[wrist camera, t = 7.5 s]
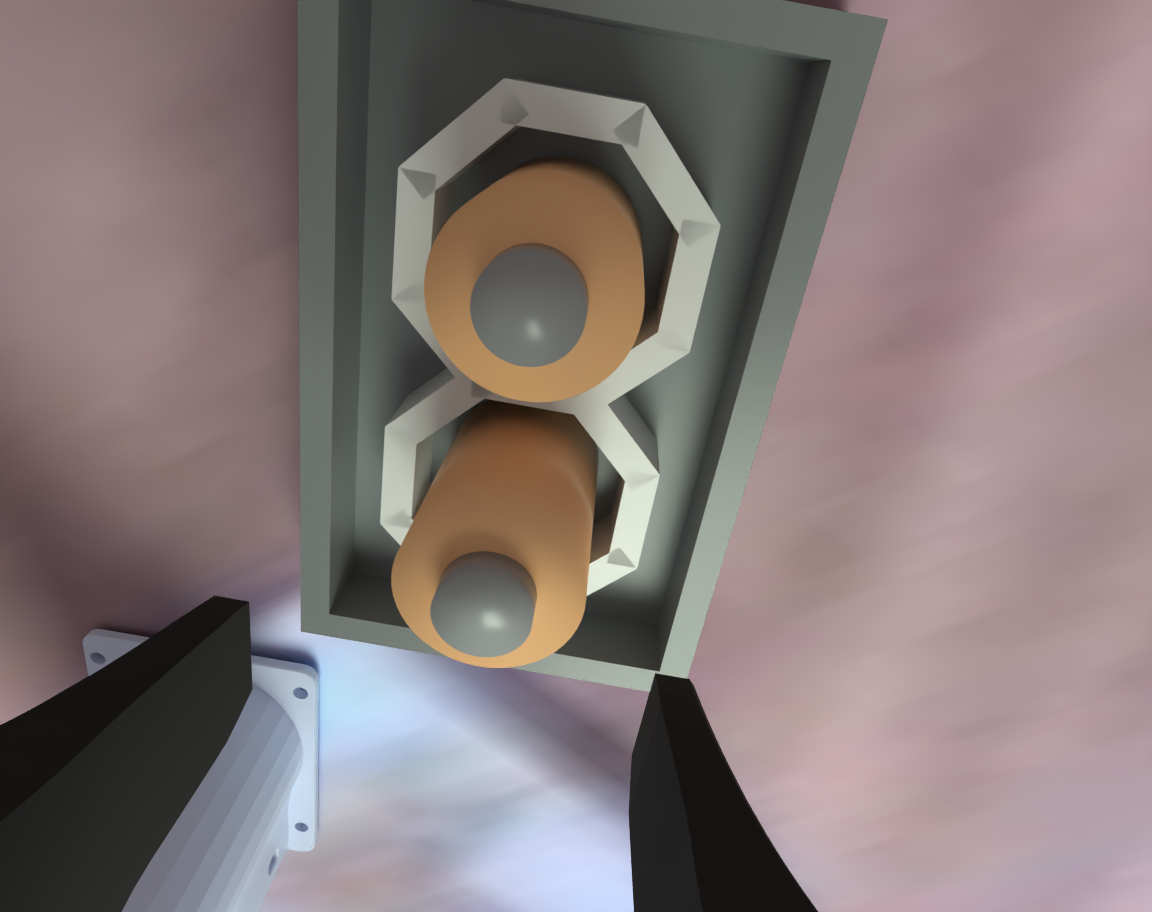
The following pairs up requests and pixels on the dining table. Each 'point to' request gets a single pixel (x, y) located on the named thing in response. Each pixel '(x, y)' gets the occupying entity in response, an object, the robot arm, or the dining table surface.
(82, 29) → the dining table surface
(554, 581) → the orange battery
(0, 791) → the robot arm
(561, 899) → the dining table surface
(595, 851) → the dining table surface
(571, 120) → the housing
